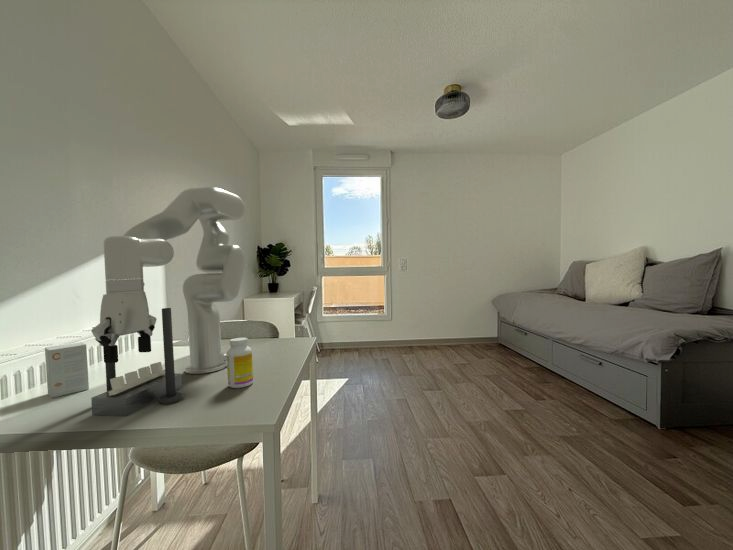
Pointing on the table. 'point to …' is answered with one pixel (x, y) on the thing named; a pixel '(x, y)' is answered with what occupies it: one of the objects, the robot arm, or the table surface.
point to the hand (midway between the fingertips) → (129, 357)
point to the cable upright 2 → (169, 361)
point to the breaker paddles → (135, 378)
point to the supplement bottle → (239, 363)
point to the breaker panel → (132, 397)
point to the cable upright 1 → (110, 374)
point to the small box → (66, 369)
